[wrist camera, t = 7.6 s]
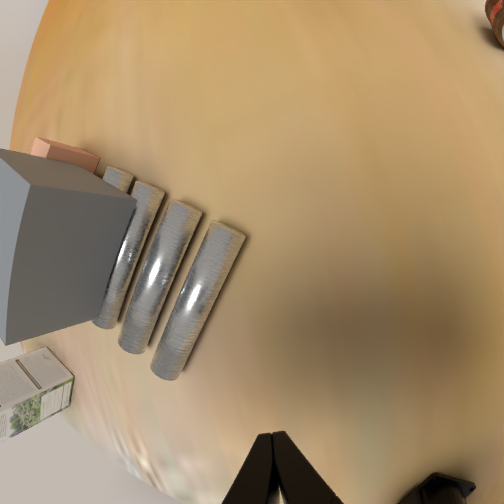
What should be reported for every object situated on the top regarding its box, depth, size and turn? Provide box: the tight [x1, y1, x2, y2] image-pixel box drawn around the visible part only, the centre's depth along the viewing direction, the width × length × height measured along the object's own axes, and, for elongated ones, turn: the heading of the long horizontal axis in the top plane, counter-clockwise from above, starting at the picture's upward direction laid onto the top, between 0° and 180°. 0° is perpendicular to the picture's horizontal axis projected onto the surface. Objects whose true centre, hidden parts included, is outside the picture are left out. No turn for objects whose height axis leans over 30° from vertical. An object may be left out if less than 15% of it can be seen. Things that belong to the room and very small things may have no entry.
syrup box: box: [0, 347, 74, 443], centre depth 21 cm, size 6×6×14 cm
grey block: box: [0, 149, 137, 346], centre depth 17 cm, size 8×10×9 cm
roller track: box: [91, 166, 246, 381], centre depth 22 cm, size 13×12×2 cm
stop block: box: [30, 137, 100, 174], centre depth 23 cm, size 3×12×6 cm, turn 153°
